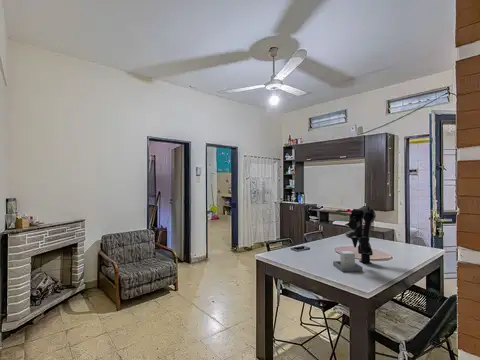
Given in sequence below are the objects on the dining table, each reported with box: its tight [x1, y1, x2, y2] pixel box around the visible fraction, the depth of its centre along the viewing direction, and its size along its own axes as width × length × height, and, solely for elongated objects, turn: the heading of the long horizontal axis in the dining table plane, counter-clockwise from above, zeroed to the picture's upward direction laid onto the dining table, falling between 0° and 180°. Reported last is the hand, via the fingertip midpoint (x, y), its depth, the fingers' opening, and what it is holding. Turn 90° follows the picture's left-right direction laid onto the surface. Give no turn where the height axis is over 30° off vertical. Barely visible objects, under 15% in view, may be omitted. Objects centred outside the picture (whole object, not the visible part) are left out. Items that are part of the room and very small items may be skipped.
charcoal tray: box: [332, 260, 363, 273], centre depth 180 cm, size 14×14×3 cm
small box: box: [339, 250, 356, 267], centre depth 180 cm, size 8×6×10 cm
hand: (358, 249), depth 183 cm, fingers open, 9 cm apart
